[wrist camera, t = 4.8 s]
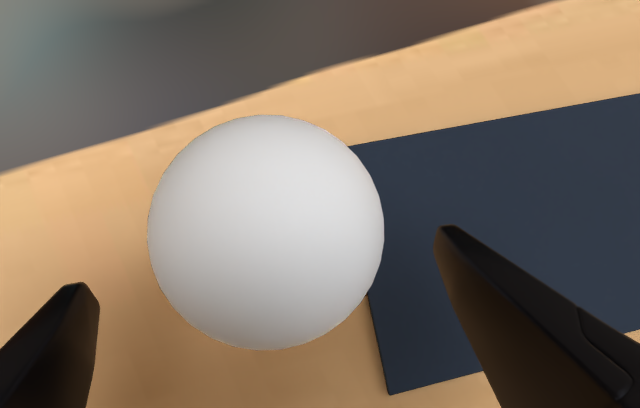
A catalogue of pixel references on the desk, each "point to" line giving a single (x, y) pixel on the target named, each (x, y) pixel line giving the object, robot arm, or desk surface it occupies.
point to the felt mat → (505, 223)
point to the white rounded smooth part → (265, 232)
